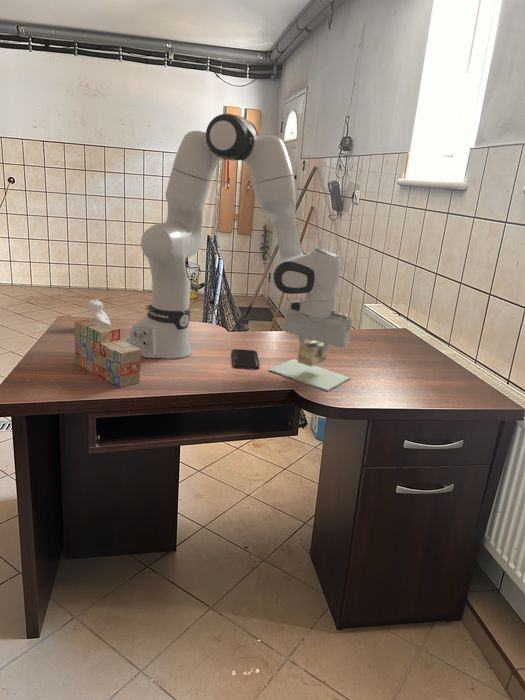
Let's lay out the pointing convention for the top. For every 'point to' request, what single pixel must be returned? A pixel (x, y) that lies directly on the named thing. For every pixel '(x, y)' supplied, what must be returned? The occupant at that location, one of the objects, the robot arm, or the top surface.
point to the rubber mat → (310, 375)
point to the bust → (97, 311)
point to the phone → (245, 359)
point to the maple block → (311, 353)
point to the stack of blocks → (106, 352)
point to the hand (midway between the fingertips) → (313, 354)
